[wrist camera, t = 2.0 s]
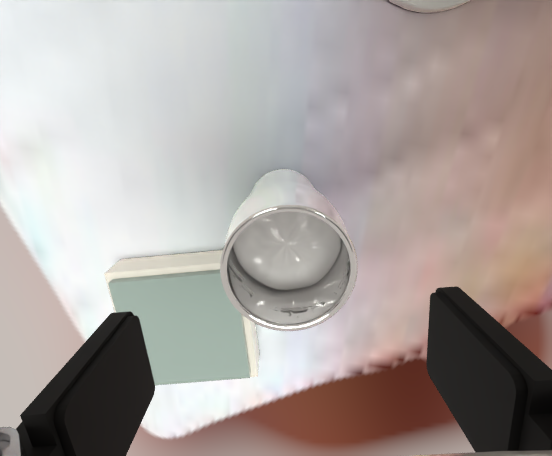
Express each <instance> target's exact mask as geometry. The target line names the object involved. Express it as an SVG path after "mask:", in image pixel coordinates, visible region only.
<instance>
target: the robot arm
mask: <svg viewBox="0 0 552 456" xmlns="http://www.w3.org/2000/svg"><path fill="white" fill-rule="evenodd" d="M389 1H390V2H391V3H393V4H396V5H398V6H400V7H402V8H404V9H407V10H411V11H416V12H420V13H432V12H441V11H445V10H450V9H453V8H456V7H458V6H460V5H462V4H465V3H467V2H469V1H470V0H389ZM427 370H428V374H429V376H430V378H431V380H432V381H433V383H434V385H435V386H436V388H437V390H438V391H439V393H440V394H441V396H442V398H443V399H444V401H445V403H446V404H447V406H448V408H449V409H450V411H451V413H452V414H453V416H454V417H455V419H456V421H457V422H458V424H459V426H460V427H461V429H462V430H463V432H464V434H465V435H466V437H467V439H468V440H469V442H470V444H471V445H472V447H473V449H474V450H475V453H452V454H432V455H414V456H552V370H551V369H550V368H549V367H548V366H547V365H546V364H545V363H543V362H542V361H541V360H540V359H539V358H538V357H537V356H535V355H534V354H533V353H532V352H531V351H530V350H529V349H528V348H527V347H525V346H524V345H523V344H522V343H521V342H520V341H519V340H518V339H516V338H515V337H514V336H513V335H512V334H511V333H510V332H508V331H507V330H506V329H505V328H504V327H503V326H502V325H501V324H500V323H498V322H497V321H496V320H495V319H494V318H493V317H492V316H491V315H489V314H488V313H487V312H486V311H485V310H484V309H483V308H481V307H480V306H479V305H478V304H477V303H476V302H475V301H474V300H472V299H471V298H470V297H469V296H468V295H467V294H466V293H465V292H463V291H462V290H461V289H460V288H459V287H444V288H438V289H437V290H436V292H435V293H432V294H431V296H430V311H429V329H428V348H427ZM154 391H155V383H154V378H153V374H152V370H151V366H150V362H149V357H148V353H147V349H146V345H145V341H144V336H143V332H142V328H141V324H140V320H139V317H138V316H134V314H133V313H132V312H130V311H129V312H116V313H111V314H110V315H109V316H108V317H107V318H106V320H105V321H104V322H103V323H102V324H101V325H100V326H99V327H98V329H97V330H96V331H95V332H94V333H93V334H92V335H91V336H90V338H89V339H88V340H87V341H86V342H85V343H84V344H83V345H82V347H81V348H80V349H79V350H78V351H77V352H76V353H75V354H74V356H73V357H72V358H71V359H70V360H69V361H68V362H67V363H66V365H65V366H64V367H63V368H62V369H61V370H60V371H59V373H58V374H57V375H56V376H55V377H54V378H53V379H52V380H51V381H50V382H49V384H48V385H47V386H46V387H45V388H44V389H43V390H42V391H41V393H40V394H39V395H38V396H37V397H36V398H35V399H34V401H33V402H32V403H31V404H30V405H29V406H28V407H27V408H26V410H25V411H24V412H23V413H22V414H21V415H20V416H21V419H22V421H23V422H22V423H21V424H20V425H19V426H18V427H17V429H14V428H11V427H0V456H126V454H127V452H128V450H129V448H130V445H131V443H132V441H133V439H134V437H135V434H136V432H137V430H138V428H139V426H140V424H141V421H142V419H143V417H144V415H145V413H146V411H147V408H148V406H149V404H150V402H151V400H152V398H153V395H154Z"/></svg>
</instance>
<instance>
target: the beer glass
mask: <svg viewBox="0 0 552 456" xmlns="http://www.w3.org/2000/svg"><path fill="white" fill-rule="evenodd" d="M220 275H221V281H222V285H223V288H224V291H225V293H226V295H227V297H228V299H229V300H230V302H231V303H232V305H233V306H234V307H235V308H236V309H237V310H238V311H239V312H240V313H241V314H242V315H243V316H244V317H246V318H247V319H249V320H250V321H252V322H254V323H256V324H258V325H260V326H263V327H266V328H269V329H273V330H280V331H296V330H303V329H307V328H311V327H314V326H316V325H318V324H321V323H323V322H324V321H326V320H328V319H329V318H331V317H332V316H333V315H335V314H336V313H337V312H338V311H339V310H340V309H341V308H342V307H343V305H344V304H345V303H346V301H347V300H348V298H349V297H350V295H351V293H352V291H353V288H354V285H355V282H356V277H357V257H356V252H355V249H354V246H353V244H352V241H351V240H350V238H349V235H348V233H347V230H346V228H345V225H344V223H343V221H342V219H341V217H340V216H339V214H338V212H337V211H336V209H335V208H334V206H333V205H332V204H331V203H330V202H329V201H328V199H327V198H326V197H325V196H323V195H322V194H321V193H320V192H318V191H317V190H315V189H314V187H313V185H312V184H311V182H310V181H309V180H308V179H307V178H306V177H305V176H304V175H302V174H300V173H298V172H296V171H293V170H289V169H278V170H274V171H271V172H268V173H267V174H265V175H263V176H262V177H261V178H260V179H259V180H258V181H257V182H256V184H255V185H254V187H253V189H252V191H251V194H250V195H249V196H248V197H247V198H246V199H245V200H244V201H243V202H242V204H241V205H240V206H239V208H238V210H237V211H236V213H235V215H234V216H233V219H232V221H231V224H230V226H229V229H228V232H227V236H226V240H225V245H224V248H223V251H222V255H221V261H220Z"/></svg>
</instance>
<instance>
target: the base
mask: <svg viewBox="0 0 552 456" xmlns="http://www.w3.org/2000/svg"><path fill="white" fill-rule="evenodd" d="M222 251H223V250H216V251H205V252H194V253H183V254H172V255H161V256H150V257H140V258H129V259H120V260H119V261H118V262H117V263H116V264H115V265H113V266H112V267H111V268H110V269H109V270H108V271H106V272H105V273H104V275H105V279H106V282H107V286H108V289H109V293H110V297H111V300H112V304H113V308H114V311H115V313H116V312H129V311H130V312H132V313H133V314H134V316H138V317H139V320H140V324H141V328H142V332H143V336H144V341H145V345H146V349H147V353H148V357H149V362H150V366H151V370H152V374H153V378H154V383H155V385H165V384H177V383H190V382H203V381H215V380H228V379H241V378H250V377H256V376H258V367H259V355H260V354H259V347H258V339H257V332H256V325H255V323H254V322H252V321H250V320H249V319H247V318H246V317H244V316H243V315H242V314H241V313H240V312H239V311H238V310H237V309H236V308H235V307H234V306H233V305H232V303H231V302H230V300H229V299H228V297H227V295H226V293H225V291H224V288H223V285H222V281H221V275H220V261H221V255H222Z"/></svg>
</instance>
